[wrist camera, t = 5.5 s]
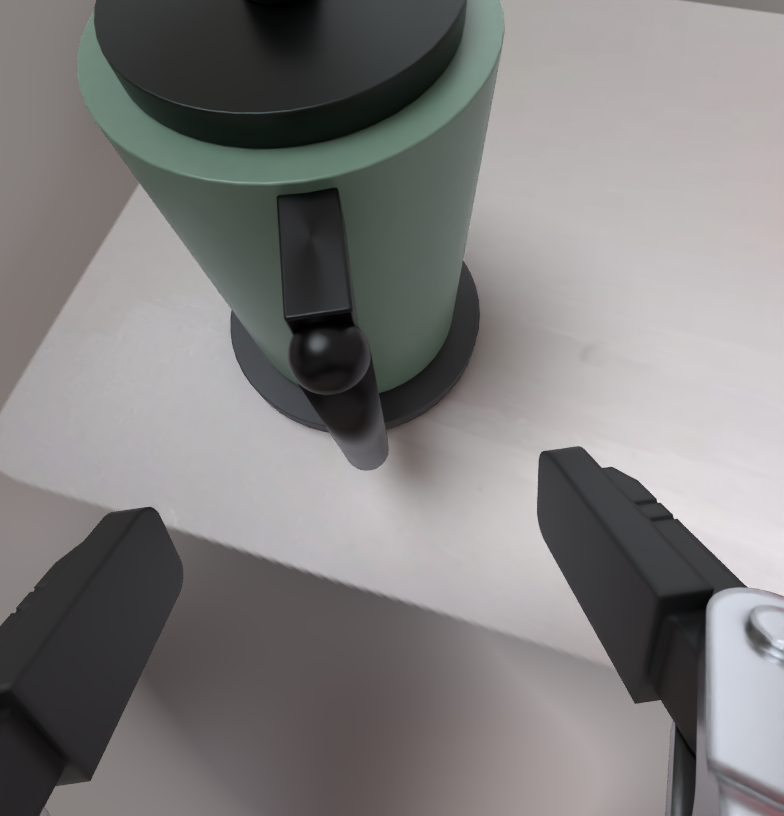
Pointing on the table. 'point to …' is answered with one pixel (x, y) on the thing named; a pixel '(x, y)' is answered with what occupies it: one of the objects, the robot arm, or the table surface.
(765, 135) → the table surface
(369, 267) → the kettle
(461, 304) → the kettle base
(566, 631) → the table surface
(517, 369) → the table surface
